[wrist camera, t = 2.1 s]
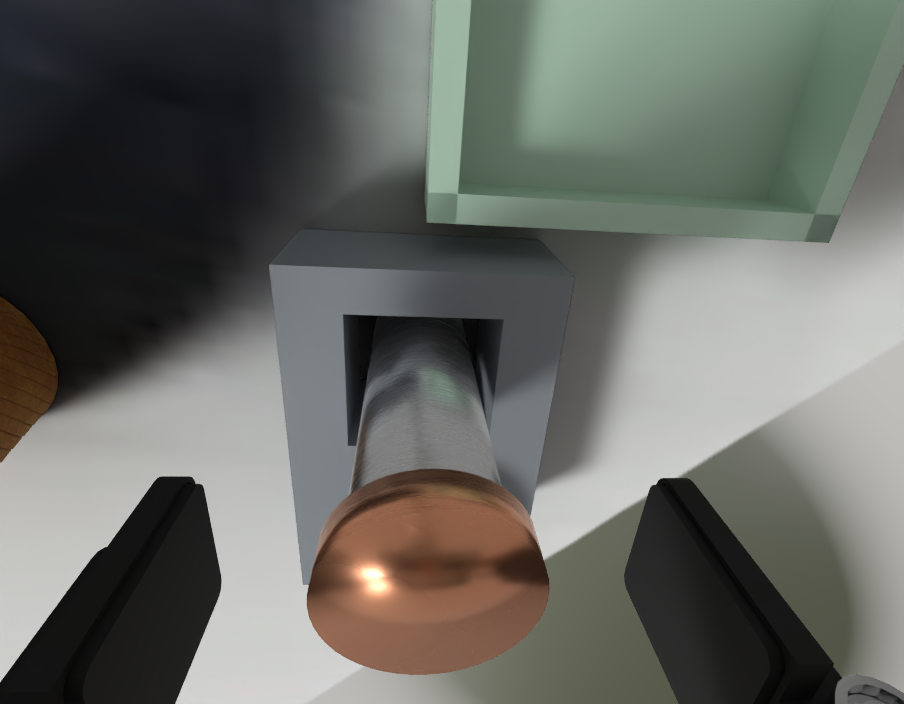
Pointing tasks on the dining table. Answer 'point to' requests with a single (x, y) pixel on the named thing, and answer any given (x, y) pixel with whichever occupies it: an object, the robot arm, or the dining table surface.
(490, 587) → the pin
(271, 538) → the dining table surface
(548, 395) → the block
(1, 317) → the disposable coffee cup
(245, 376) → the dining table surface
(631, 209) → the tray
